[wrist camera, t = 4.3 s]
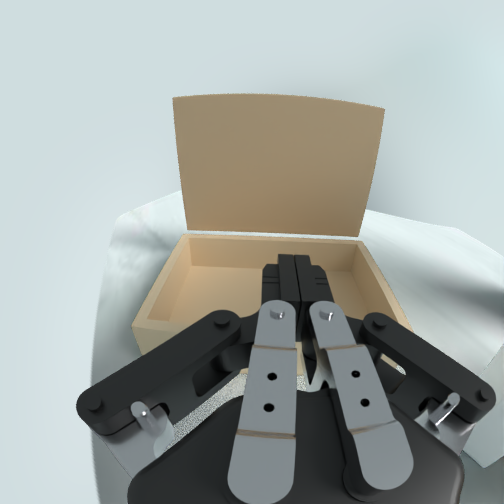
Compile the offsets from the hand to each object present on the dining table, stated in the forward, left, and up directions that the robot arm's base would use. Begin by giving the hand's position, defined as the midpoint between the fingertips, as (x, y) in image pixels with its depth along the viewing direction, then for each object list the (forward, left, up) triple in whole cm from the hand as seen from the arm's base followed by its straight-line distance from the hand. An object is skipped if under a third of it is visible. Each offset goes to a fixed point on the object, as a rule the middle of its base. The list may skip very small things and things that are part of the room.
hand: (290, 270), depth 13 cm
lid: (-8, -15, +1) cm, 17 cm away
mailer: (-5, -9, -12) cm, 15 cm away
